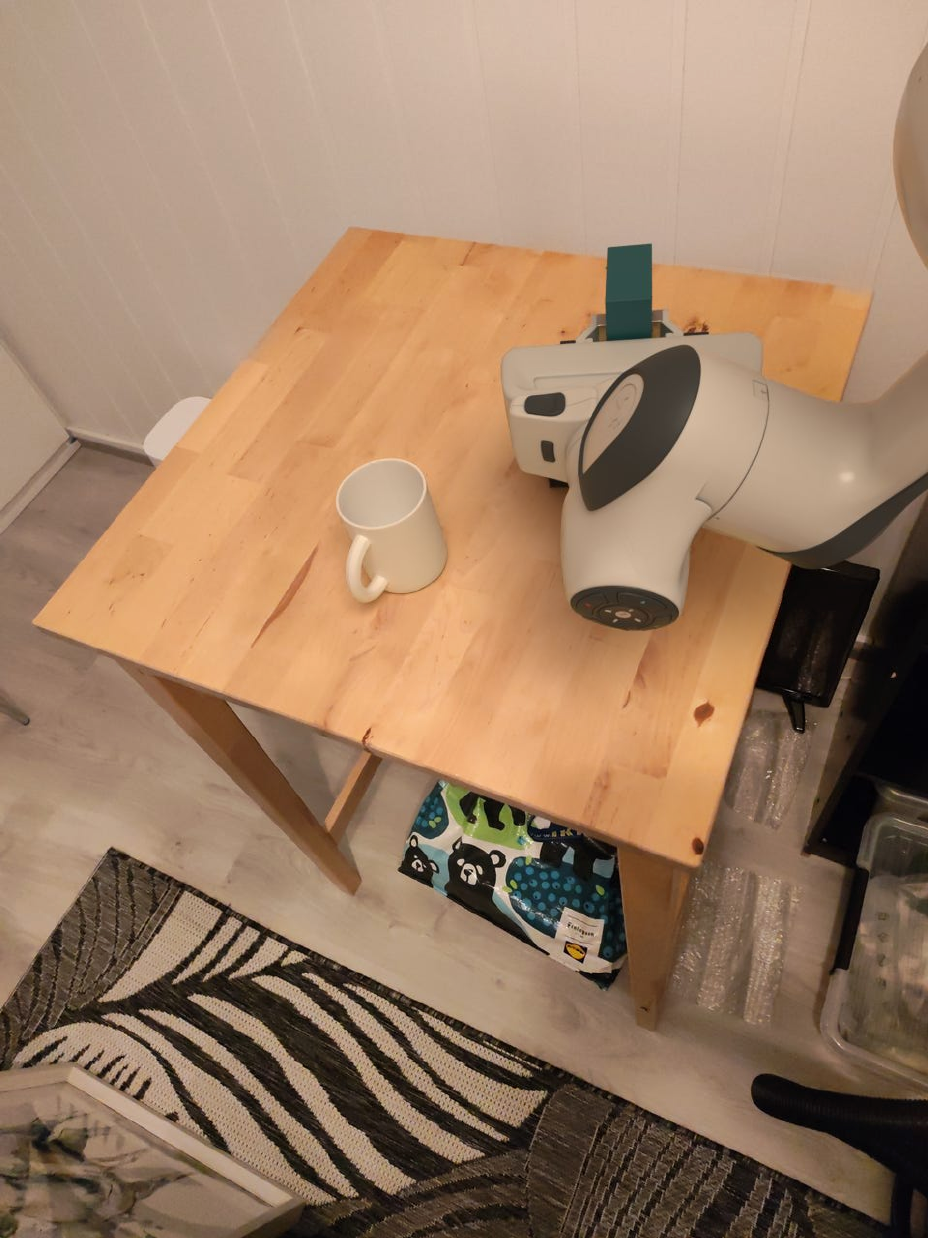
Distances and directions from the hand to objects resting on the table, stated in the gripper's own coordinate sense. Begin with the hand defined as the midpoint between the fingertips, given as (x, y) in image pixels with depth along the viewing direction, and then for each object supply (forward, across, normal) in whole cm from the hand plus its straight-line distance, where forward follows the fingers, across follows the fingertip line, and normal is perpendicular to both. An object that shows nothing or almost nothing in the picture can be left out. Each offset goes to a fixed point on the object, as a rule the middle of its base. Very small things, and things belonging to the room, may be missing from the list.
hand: (629, 318), depth 68 cm
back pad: (-1, 0, +6) cm, 6 cm away
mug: (-14, +22, +17) cm, 31 cm away
